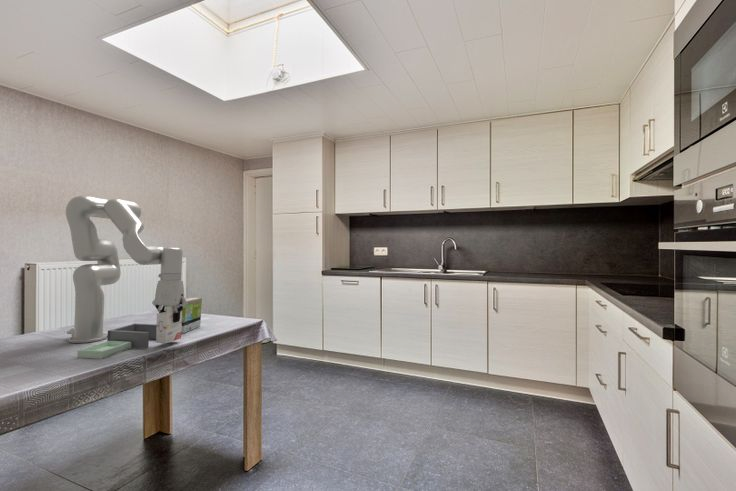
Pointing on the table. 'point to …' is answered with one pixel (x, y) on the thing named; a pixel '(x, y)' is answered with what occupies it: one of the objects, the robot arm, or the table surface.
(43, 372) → the table surface
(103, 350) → the tray
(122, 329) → the bay
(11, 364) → the table surface
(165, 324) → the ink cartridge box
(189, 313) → the tea box
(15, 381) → the table surface
